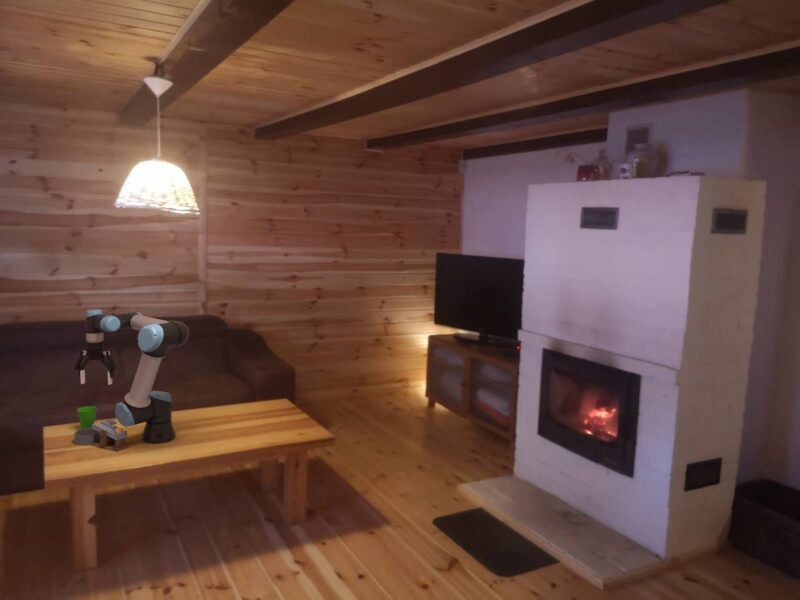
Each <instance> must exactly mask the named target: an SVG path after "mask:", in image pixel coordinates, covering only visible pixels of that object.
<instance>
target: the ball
mask: <svg viewBox="0 0 800 600" xmlns="http://www.w3.org/2000/svg"><path fill="white" fill-rule="evenodd" d="M123 431H124V430H123V428H121V427H118V428H116V429H115V434H116V435H117V434H119V433H121V432H123Z"/></svg>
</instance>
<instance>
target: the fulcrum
mask: <svg viewBox="0 0 800 600" xmlns="http://www.w3.org/2000/svg"><path fill="white" fill-rule="evenodd" d="M113 426H114V427H116V428H119V427H118V426H116V425H113ZM90 446H92V447H95V448H100V449H104V450H108V451H112V452H116V453H118V452H119V451H122V450H124V449H127V448H129V447H130V445H129V444H126V437H125V438H123V439H120V440H118V441H117V440H115V439H113V438H111V437H109V436H107V435H106V431H105V430H101V441H98V442H95V443H93V444H91V445H90Z"/></svg>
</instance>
